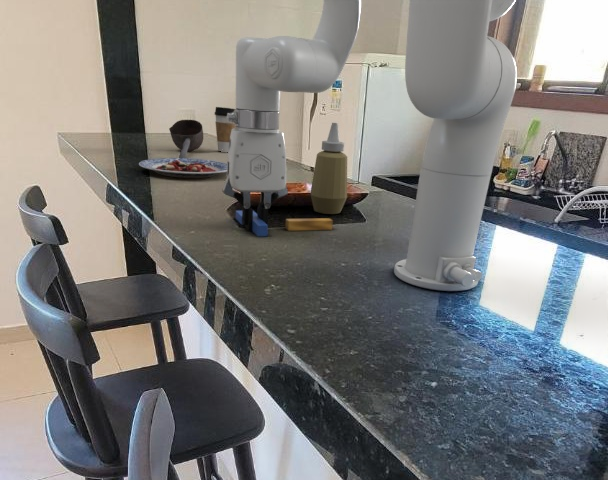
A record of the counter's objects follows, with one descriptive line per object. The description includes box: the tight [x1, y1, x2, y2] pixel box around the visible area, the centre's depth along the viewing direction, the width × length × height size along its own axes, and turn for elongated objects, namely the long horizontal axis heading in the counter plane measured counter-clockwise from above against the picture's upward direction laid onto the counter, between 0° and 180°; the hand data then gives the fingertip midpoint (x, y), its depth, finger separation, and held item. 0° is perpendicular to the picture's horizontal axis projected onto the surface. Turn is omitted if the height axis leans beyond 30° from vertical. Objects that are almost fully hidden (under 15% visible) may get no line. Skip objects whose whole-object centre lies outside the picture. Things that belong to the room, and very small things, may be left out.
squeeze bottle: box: [309, 122, 348, 215], centre depth 113 cm, size 8×8×18 cm
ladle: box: [168, 119, 204, 158], centre depth 180 cm, size 12×38×10 cm, turn 8°
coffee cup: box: [214, 106, 235, 153], centre depth 194 cm, size 8×8×15 cm
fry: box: [284, 217, 334, 232], centre depth 102 cm, size 9×2×2 cm, turn 110°
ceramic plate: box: [138, 157, 227, 179], centre depth 149 cm, size 26×26×3 cm
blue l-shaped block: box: [235, 210, 269, 237], centre depth 100 cm, size 14×4×2 cm, turn 20°
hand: (254, 227), depth 100 cm, fingers closed on blue l-shaped block, 1 cm apart
